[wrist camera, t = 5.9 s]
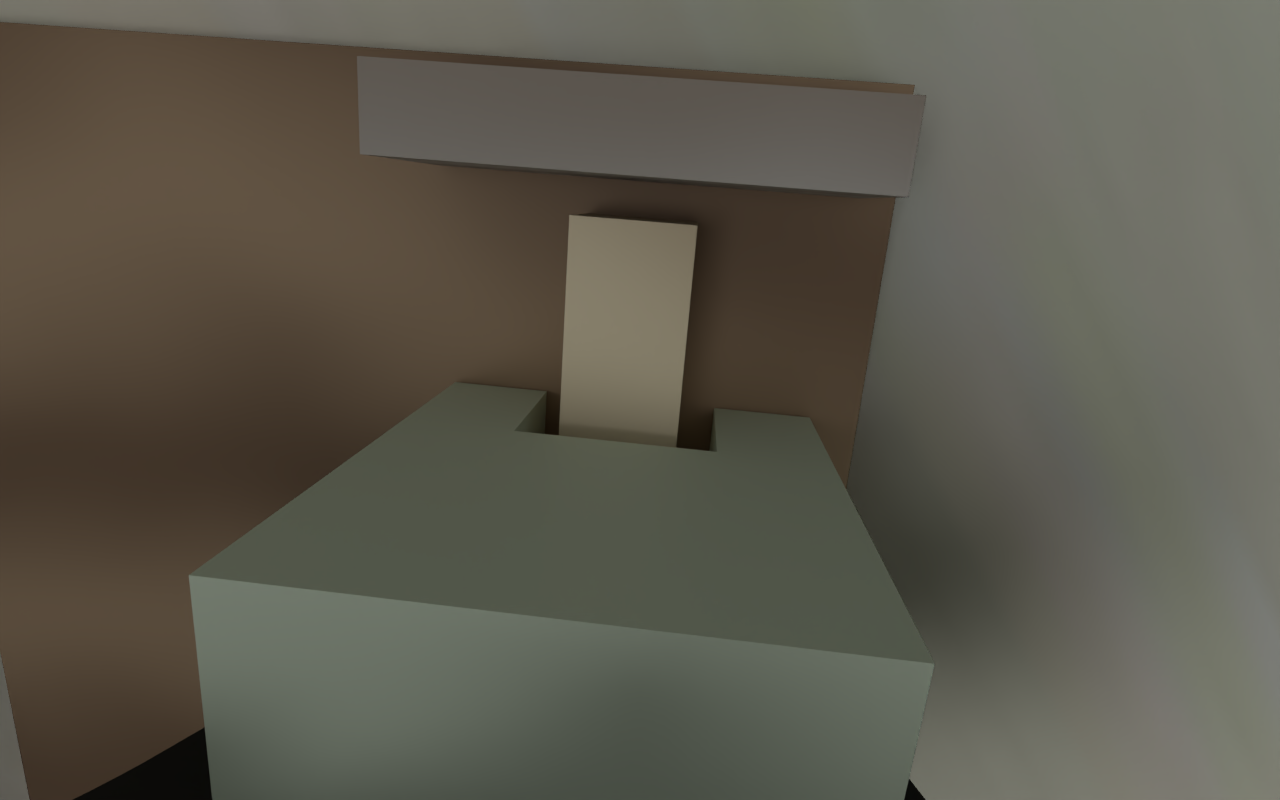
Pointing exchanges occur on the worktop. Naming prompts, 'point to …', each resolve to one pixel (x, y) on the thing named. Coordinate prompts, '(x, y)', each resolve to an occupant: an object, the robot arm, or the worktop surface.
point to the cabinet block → (560, 622)
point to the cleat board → (373, 303)
